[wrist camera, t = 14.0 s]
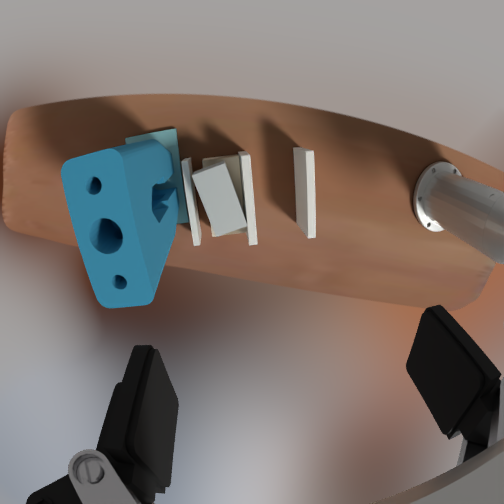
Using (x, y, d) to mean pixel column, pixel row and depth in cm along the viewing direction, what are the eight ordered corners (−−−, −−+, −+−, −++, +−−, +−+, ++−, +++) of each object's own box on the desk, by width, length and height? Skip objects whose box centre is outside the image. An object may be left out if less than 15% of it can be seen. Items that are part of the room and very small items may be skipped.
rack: (300, 147, 38) (313, 150, 32) (303, 222, 42) (315, 237, 37) (185, 158, 37) (179, 163, 31) (195, 234, 41) (192, 252, 36)
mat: (176, 128, 35) (175, 128, 34) (188, 221, 40) (188, 222, 40) (126, 138, 35) (125, 138, 34) (141, 227, 40) (140, 228, 39)
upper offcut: (224, 160, 35) (224, 163, 32) (245, 218, 38) (247, 225, 35) (193, 171, 35) (191, 175, 32) (216, 228, 38) (216, 237, 35)
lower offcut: (237, 154, 38) (238, 156, 35) (244, 223, 42) (246, 232, 39) (203, 158, 37) (202, 161, 34) (212, 227, 42) (212, 236, 38)
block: (133, 143, 34) (58, 162, 16) (169, 135, 35) (120, 145, 17) (148, 227, 39) (100, 309, 21) (182, 221, 40) (156, 303, 22)
